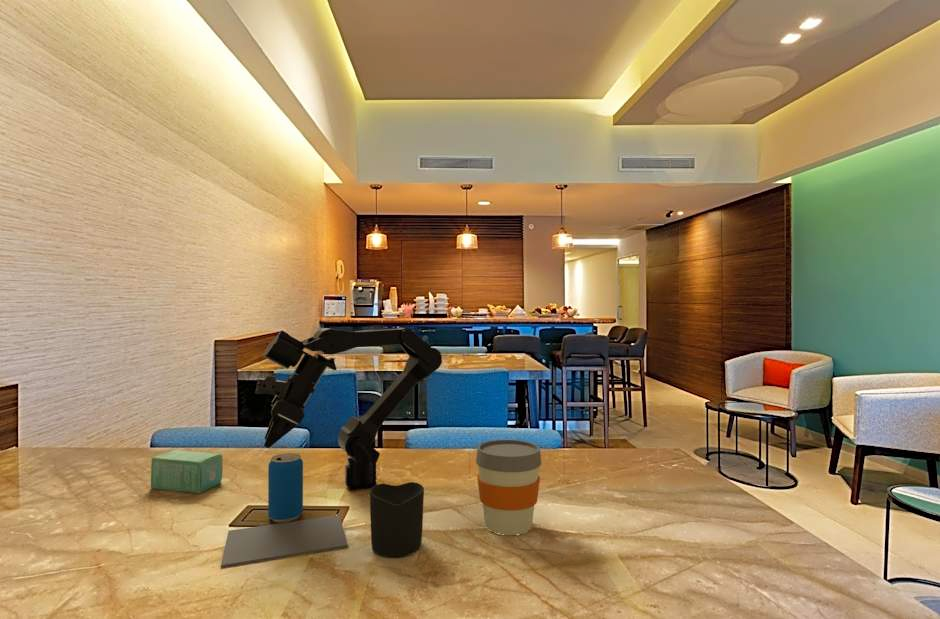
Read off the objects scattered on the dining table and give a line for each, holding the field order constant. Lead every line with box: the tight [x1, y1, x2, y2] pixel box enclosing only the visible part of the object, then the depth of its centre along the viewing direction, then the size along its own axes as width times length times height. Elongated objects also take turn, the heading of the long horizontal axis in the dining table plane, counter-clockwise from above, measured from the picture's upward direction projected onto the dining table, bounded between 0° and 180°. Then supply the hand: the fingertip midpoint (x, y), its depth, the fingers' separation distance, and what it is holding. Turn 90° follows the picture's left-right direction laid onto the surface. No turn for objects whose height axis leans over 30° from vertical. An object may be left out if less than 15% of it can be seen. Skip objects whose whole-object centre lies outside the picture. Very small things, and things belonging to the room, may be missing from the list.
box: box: [150, 449, 224, 494], centre depth 118 cm, size 7×14×8 cm, turn 79°
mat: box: [220, 514, 349, 568], centre depth 90 cm, size 20×14×1 cm
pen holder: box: [369, 481, 425, 559], centre depth 88 cm, size 9×9×10 cm
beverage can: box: [267, 452, 304, 523], centre depth 100 cm, size 6×6×12 cm
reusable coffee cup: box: [475, 439, 542, 536], centre depth 97 cm, size 12×13×15 cm
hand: (266, 443), depth 108 cm, fingers open, 9 cm apart
